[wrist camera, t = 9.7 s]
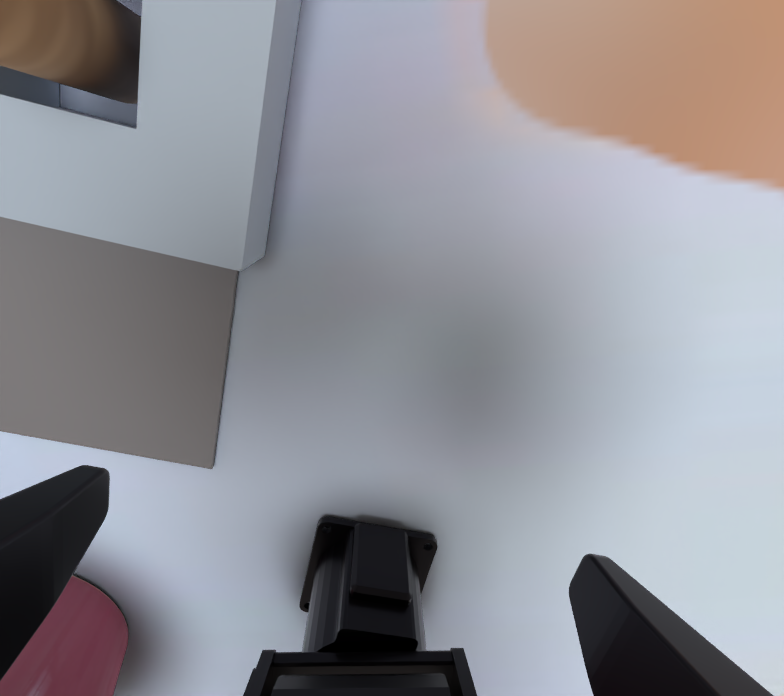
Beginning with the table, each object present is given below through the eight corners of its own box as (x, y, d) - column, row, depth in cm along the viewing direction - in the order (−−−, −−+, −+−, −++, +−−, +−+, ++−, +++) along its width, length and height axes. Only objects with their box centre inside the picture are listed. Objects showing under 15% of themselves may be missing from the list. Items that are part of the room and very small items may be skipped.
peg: (163, 112, 17) (-40, 50, 9) (81, 91, 17) (-213, 4, 8) (169, 22, 16) (-55, -147, 8) (82, -3, 16) (-251, -207, 7)
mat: (213, 465, 23) (211, 469, 22) (2, 427, 22) (-3, 430, 21) (250, 176, 18) (248, 176, 18) (-18, 109, 17) (-24, 108, 17)
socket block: (264, 255, 19) (241, 271, 16) (-39, 185, 18) (-133, 186, 15) (315, -95, 15) (297, -170, 12) (-71, -219, 14) (-210, -341, 11)
